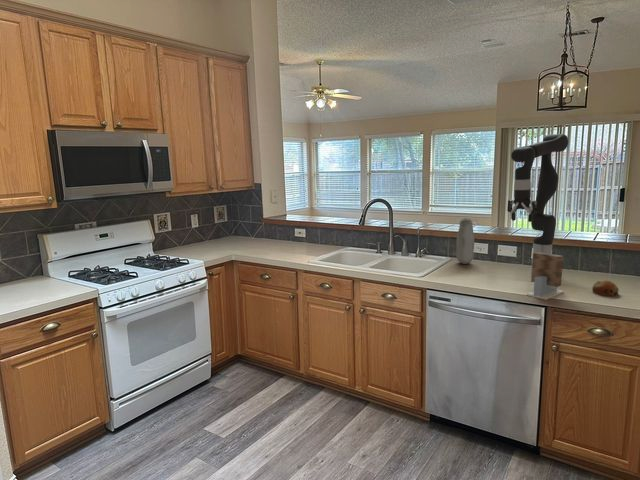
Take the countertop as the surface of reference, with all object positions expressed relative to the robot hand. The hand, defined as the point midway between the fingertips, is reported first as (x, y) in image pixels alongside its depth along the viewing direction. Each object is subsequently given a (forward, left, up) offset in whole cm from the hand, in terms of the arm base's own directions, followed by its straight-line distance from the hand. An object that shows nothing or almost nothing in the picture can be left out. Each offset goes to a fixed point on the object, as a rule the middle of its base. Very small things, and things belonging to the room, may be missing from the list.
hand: (521, 221), depth 214 cm
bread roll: (-20, +32, -32) cm, 50 cm away
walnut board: (+5, +19, -27) cm, 33 cm away
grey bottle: (-8, -45, -32) cm, 56 cm away
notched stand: (+5, +19, -32) cm, 38 cm away
